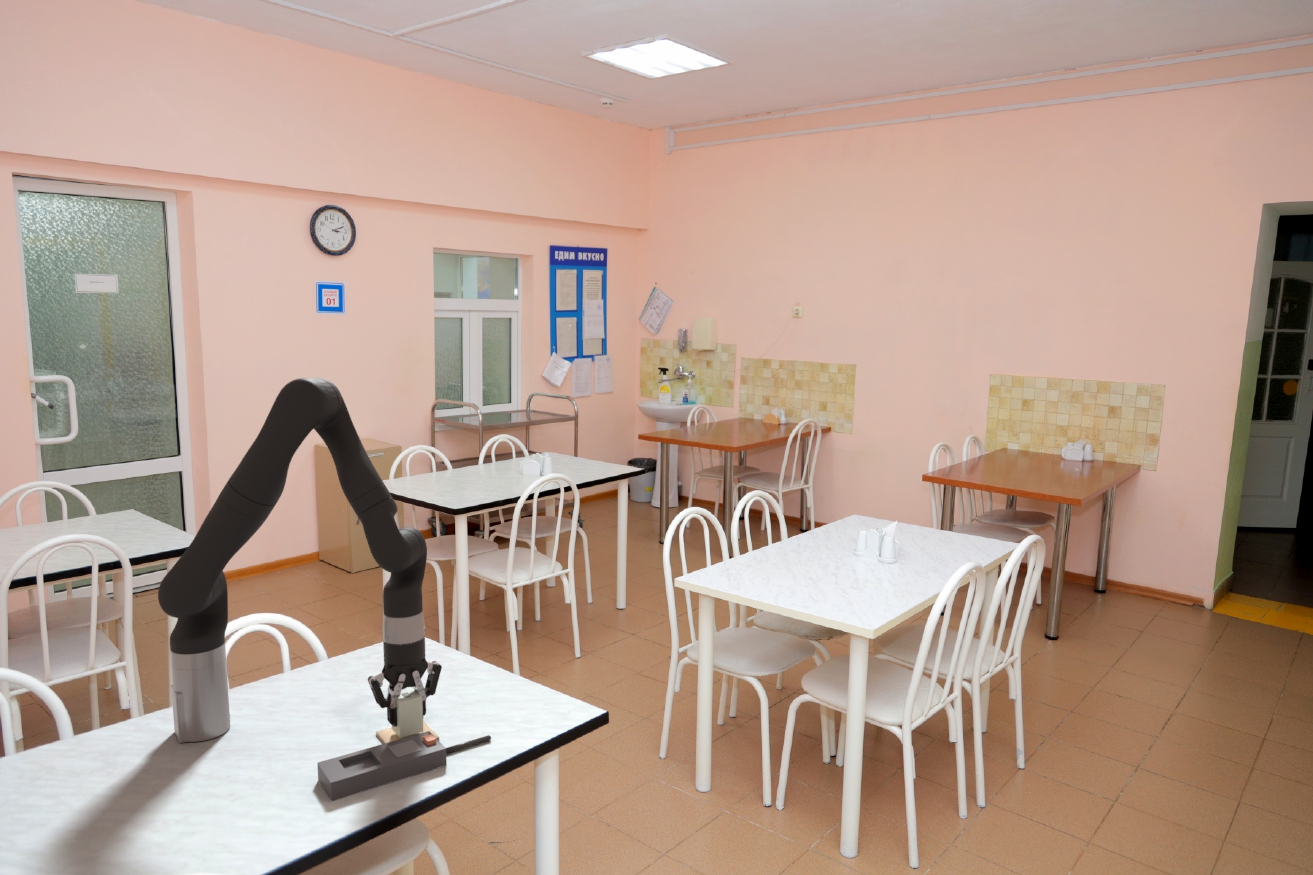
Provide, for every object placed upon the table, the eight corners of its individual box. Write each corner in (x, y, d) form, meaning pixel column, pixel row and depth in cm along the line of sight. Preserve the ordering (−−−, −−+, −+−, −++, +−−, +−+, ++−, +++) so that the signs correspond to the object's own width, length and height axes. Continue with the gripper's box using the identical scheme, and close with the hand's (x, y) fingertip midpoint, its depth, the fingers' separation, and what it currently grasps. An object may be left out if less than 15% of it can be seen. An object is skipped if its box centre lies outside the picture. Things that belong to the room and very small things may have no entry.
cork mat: (392, 753, 158) (392, 750, 158) (376, 734, 166) (376, 731, 166) (439, 740, 164) (439, 737, 164) (421, 722, 171) (421, 719, 171)
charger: (400, 737, 161) (398, 702, 160) (391, 728, 165) (390, 693, 164) (423, 731, 164) (422, 695, 163) (414, 722, 168) (413, 687, 167)
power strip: (331, 800, 143) (330, 778, 142) (318, 779, 149) (317, 758, 149) (500, 748, 161) (499, 727, 160) (481, 731, 167) (481, 712, 167)
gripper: (432, 621, 169) (435, 704, 171) (359, 636, 161) (362, 724, 163) (448, 633, 163) (450, 718, 165) (372, 649, 155) (376, 739, 157)
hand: (406, 720), depth 164 cm, fingers closed on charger, 4 cm apart
